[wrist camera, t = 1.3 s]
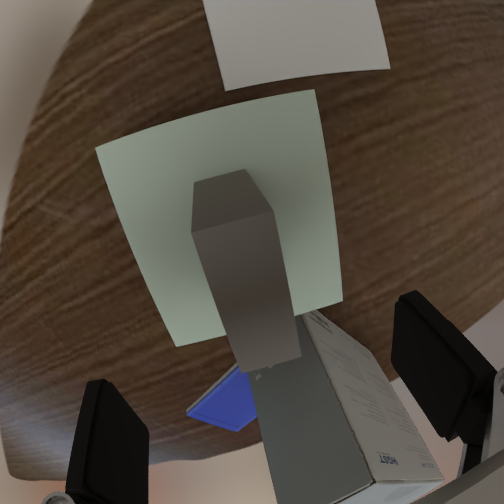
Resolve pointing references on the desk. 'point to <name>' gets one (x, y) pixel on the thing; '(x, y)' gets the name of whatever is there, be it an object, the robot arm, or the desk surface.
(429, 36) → the desk surface
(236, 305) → the lid
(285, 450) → the hard drive box
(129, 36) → the desk surface
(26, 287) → the desk surface
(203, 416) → the hard drive
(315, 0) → the mat
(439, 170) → the desk surface
